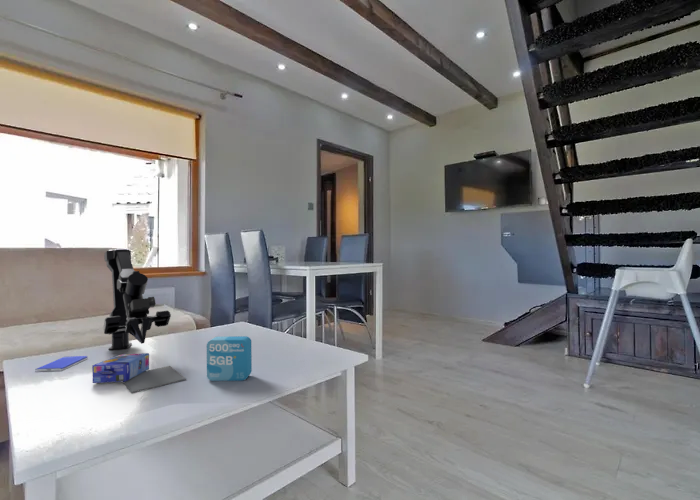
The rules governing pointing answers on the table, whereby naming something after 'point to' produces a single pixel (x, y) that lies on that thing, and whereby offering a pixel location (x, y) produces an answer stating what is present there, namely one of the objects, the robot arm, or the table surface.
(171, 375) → the mat
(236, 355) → the data package
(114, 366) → the ink cartridge box
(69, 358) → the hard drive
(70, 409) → the table surface
